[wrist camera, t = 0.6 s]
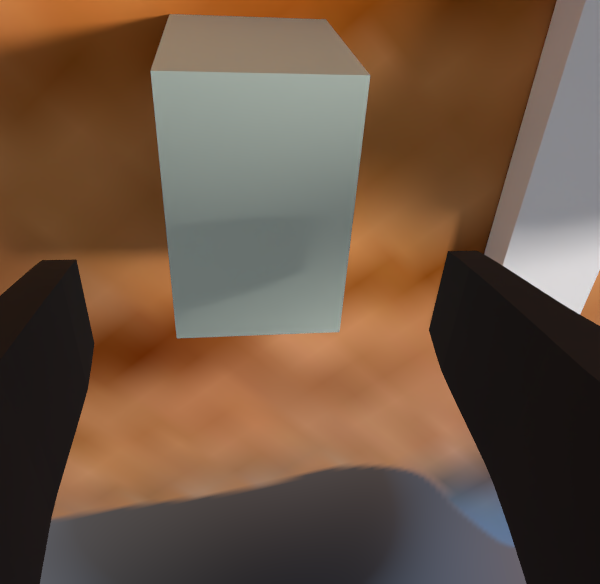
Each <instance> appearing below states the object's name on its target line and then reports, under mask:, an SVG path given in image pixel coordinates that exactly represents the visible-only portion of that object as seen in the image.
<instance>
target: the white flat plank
mask: <svg viewBox="0 0 600 584" xmlns="http://www.w3.org/2000/svg"><path fill="white" fill-rule="evenodd" d="M484 255H486V256H488V257H489V258H491V259H493V260H494V261H496V262H498V263H499V264H501V265H502V266H504V267H506V268H507V269H509V270H510V271H512V272H513V273H515V274H517V275H518V276H520V277H521V278H523V279H524V280H526V281H527V282H529V283H530V284H532V285H533V286H535V287H537V288H538V289H540V290H541V291H543V292H544V293H546V294H547V295H549V296H551V297H552V298H554V299H555V300H557V301H558V302H560V303H562V304H563V305H565V306H566V307H568V308H570V309H571V310H573V311H575V312H576V313H578V314H581V311H582V309H583V307H584V304H585V302H586V300H587V298H588V295H589V293H590V291H591V288H592V286H593V284H594V281H595V279H596V277H597V275H598V272H599V270H600V0H557V2H556V5H555V9H554V12H553V15H552V19H551V22H550V26H549V29H548V33H547V36H546V40H545V43H544V47H543V50H542V54H541V57H540V61H539V64H538V68H537V71H536V75H535V78H534V82H533V85H532V89H531V92H530V96H529V99H528V103H527V106H526V110H525V113H524V117H523V120H522V124H521V127H520V131H519V134H518V138H517V141H516V145H515V148H514V152H513V155H512V159H511V162H510V165H509V169H508V172H507V176H506V179H505V183H504V186H503V190H502V193H501V197H500V200H499V204H498V207H497V211H496V214H495V218H494V221H493V225H492V228H491V232H490V235H489V239H488V242H487V246H486V249H485V253H484Z"/></svg>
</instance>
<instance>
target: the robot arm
mask: <svg viewBox="0 0 600 584" xmlns="http://www.w3.org/2000/svg"><path fill="white" fill-rule="evenodd" d="M429 331H430V335H431V338H432V342H433V345H434V349H435V352H436V355H437V359H438V362H439V365H440V368H441V371H442V373H443V375H444V378H445V380H446V382H447V384H448V386H449V389H450V391H451V393H452V395H453V397H454V399H455V401H456V404H457V406H458V408H459V410H460V412H461V414H462V416H463V418H464V420H465V422H466V425H467V427H468V429H469V431H470V433H471V435H472V437H473V439H474V441H475V443H476V445H477V448H478V450H479V452H480V454H481V456H482V458H483V460H484V462H485V465H486V467H487V469H488V472H489V474H490V476H491V479H492V481H493V484H494V486H495V489H496V492H497V495H498V498H499V501H500V504H501V506H502V509H503V512H504V515H505V518H506V521H507V524H508V527H509V530H510V533H511V536H512V539H513V542H514V545H515V548H516V551H517V555H518V558H519V561H520V564H521V567H522V570H523V573H524V576H525V580H526V583H527V584H600V326H599V325H597V324H595V323H593V322H592V321H590V320H588V319H586V318H585V317H583V316H581V315H580V314H578V313H576V312H575V311H573V310H571V309H570V308H568V307H566V306H565V305H563V304H562V303H560V302H558V301H557V300H555V299H554V298H552V297H551V296H549V295H547V294H546V293H544V292H543V291H541V290H540V289H538V288H537V287H535V286H533V285H532V284H530V283H529V282H527V281H526V280H524V279H523V278H521V277H520V276H518V275H517V274H515V273H513V272H512V271H510V270H509V269H507V268H506V267H504V266H502V265H501V264H499V263H498V262H496V261H494V260H493V259H491V258H489V257H488V256H486V255H484V254H482V253H480V252H478V251H448V254H447V258H446V262H445V266H444V270H443V274H442V278H441V282H440V287H439V291H438V295H437V299H436V303H435V307H434V311H433V316H432V320H431V324H430V328H429ZM93 349H94V340H93V336H92V331H91V326H90V321H89V317H88V312H87V307H86V303H85V298H84V293H83V289H82V284H81V279H80V274H79V270H78V265H77V260H42V261H41V262H39V263H38V264H37V265H35V266H34V267H33V268H32V269H31V270H29V271H28V272H27V273H26V274H25V275H24V276H22V277H21V278H20V279H19V280H18V281H17V282H16V283H14V284H13V285H12V286H11V287H10V288H9V289H8V290H6V291H5V292H4V293H3V294H2V295H1V296H0V584H40V579H41V573H42V566H43V561H44V555H45V550H46V544H47V539H48V533H49V528H50V522H51V517H52V513H53V509H54V505H55V501H56V497H57V493H58V489H59V486H60V483H61V479H62V476H63V472H64V469H65V466H66V462H67V459H68V456H69V452H70V449H71V445H72V442H73V439H74V435H75V432H76V428H77V425H78V422H79V418H80V415H81V411H82V408H83V404H84V401H85V397H86V393H87V390H88V384H89V377H90V371H91V364H92V356H93Z"/></svg>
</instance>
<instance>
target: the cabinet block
mask: <svg viewBox="0 0 600 584" xmlns="http://www.w3.org/2000/svg"><path fill="white" fill-rule="evenodd" d="M151 82H152V92H153V102H154V112H155V122H156V132H157V142H158V152H159V163H160V173H161V183H162V193H163V203H164V213H165V223H166V233H167V244H168V254H169V264H170V274H171V284H172V294H173V304H174V315H175V325H176V335H177V338H195V337H221V336H247V335H273V334H299V333H325V332H339V331H340V323H341V314H342V306H343V298H344V289H345V281H346V273H347V265H348V256H349V248H350V240H351V231H352V223H353V215H354V207H355V198H356V190H357V182H358V174H359V165H360V157H361V149H362V140H363V132H364V124H365V116H366V107H367V99H368V91H369V83H370V74H369V73H368V72H367V71H366V69H365V68H364V67H363V66H362V64H361V63H360V62H359V60H358V59H357V58H356V57H355V55H354V54H353V53H352V52H351V50H350V49H349V48H348V47H347V45H346V44H345V43H344V42H343V40H342V39H341V38H340V37H339V35H338V34H337V33H336V32H335V30H334V29H333V28H332V27H331V25H330V24H329V23H328V22H327V20H326V19H298V18H268V17H239V16H209V15H179V14H169V17H168V20H167V23H166V26H165V29H164V32H163V35H162V38H161V41H160V44H159V47H158V50H157V53H156V56H155V59H154V62H153V65H152V68H151Z"/></svg>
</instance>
